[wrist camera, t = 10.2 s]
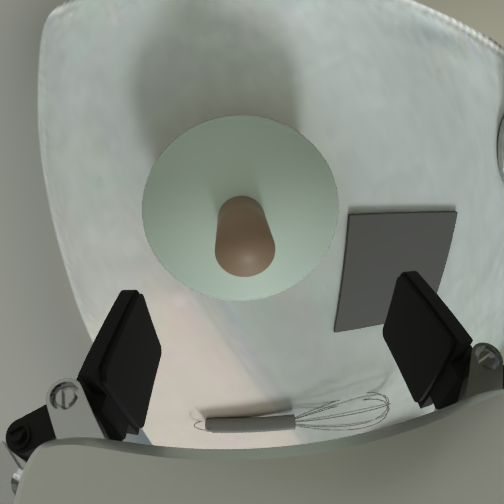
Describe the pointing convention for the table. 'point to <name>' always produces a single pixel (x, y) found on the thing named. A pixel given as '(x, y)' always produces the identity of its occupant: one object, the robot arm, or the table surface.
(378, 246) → the mat
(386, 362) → the table surface
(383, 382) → the table surface
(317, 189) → the lid
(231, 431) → the kitchen whisk
